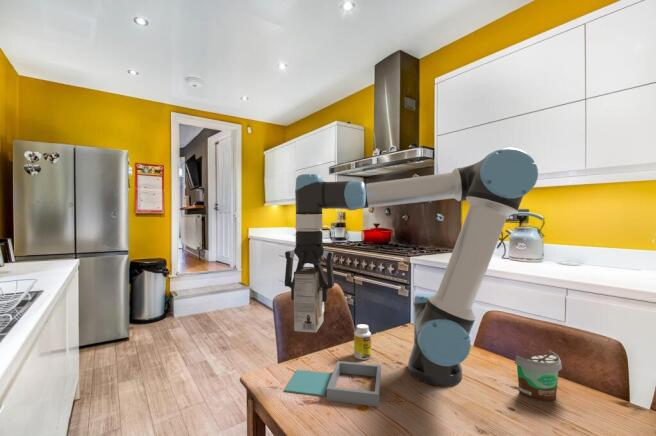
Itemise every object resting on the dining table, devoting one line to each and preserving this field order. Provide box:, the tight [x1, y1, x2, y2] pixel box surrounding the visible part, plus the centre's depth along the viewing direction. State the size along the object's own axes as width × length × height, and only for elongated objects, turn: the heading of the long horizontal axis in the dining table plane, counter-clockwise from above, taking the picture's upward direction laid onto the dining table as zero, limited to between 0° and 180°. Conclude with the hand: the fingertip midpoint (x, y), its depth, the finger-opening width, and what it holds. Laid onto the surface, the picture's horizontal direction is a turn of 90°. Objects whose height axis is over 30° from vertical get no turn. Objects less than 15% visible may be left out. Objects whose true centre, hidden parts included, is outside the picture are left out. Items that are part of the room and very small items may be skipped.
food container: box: [514, 349, 563, 402], centre depth 78 cm, size 12×6×10 cm, turn 105°
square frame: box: [326, 360, 382, 408], centre depth 83 cm, size 13×15×3 cm
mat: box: [283, 369, 333, 397], centre depth 85 cm, size 11×11×1 cm
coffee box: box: [293, 266, 325, 333], centre depth 85 cm, size 9×6×16 cm
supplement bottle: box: [353, 323, 372, 361], centre depth 101 cm, size 6×6×10 cm
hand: (309, 312), depth 85 cm, fingers closed on coffee box, 6 cm apart
